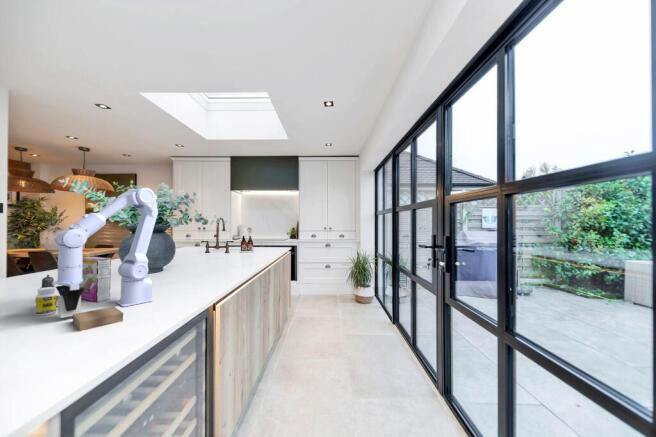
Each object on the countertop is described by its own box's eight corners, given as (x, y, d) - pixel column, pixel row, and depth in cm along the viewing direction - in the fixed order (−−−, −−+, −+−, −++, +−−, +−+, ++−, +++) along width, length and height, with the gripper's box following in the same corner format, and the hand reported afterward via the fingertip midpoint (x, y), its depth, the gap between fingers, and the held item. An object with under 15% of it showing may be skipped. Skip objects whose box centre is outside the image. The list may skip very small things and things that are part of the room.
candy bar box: (77, 299, 104) (78, 257, 104) (92, 296, 109) (93, 256, 109) (96, 302, 100) (97, 259, 100) (110, 299, 105) (111, 258, 105)
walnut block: (113, 315, 89) (113, 306, 89) (122, 322, 83) (123, 312, 83) (72, 324, 81) (73, 314, 81) (79, 332, 75) (80, 322, 75)
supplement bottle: (42, 316, 86) (42, 290, 86) (31, 315, 87) (31, 289, 87) (59, 311, 90) (60, 287, 90) (49, 310, 91) (49, 286, 91)
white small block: (77, 310, 88) (77, 292, 88) (80, 313, 85) (80, 295, 85) (58, 314, 85) (58, 296, 85) (60, 318, 82) (60, 298, 82)
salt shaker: (31, 309, 92) (32, 275, 92) (53, 304, 97) (54, 272, 97) (39, 312, 90) (40, 276, 90) (62, 306, 95) (63, 273, 95)
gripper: (48, 265, 86) (48, 306, 86) (56, 271, 78) (55, 317, 77) (78, 262, 92) (77, 301, 92) (88, 267, 83) (87, 311, 83)
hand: (69, 308), depth 85 cm, fingers closed on white small block, 5 cm apart
